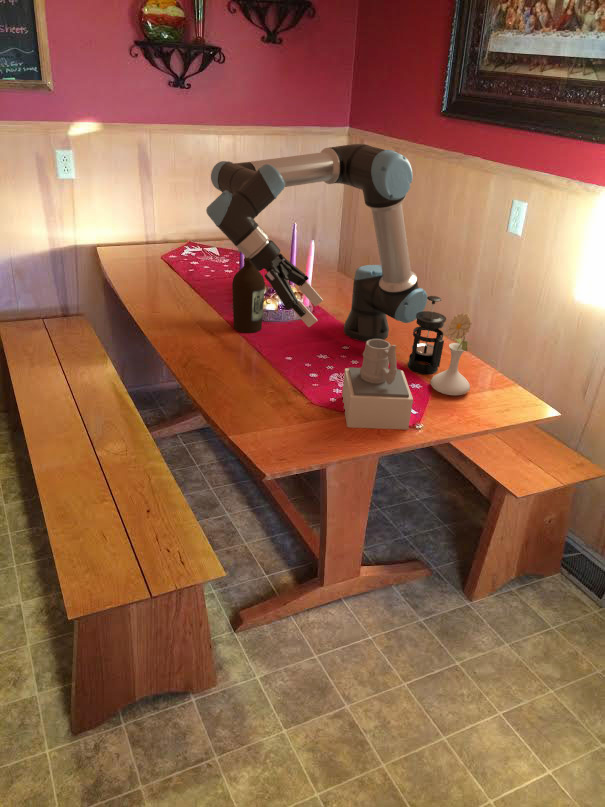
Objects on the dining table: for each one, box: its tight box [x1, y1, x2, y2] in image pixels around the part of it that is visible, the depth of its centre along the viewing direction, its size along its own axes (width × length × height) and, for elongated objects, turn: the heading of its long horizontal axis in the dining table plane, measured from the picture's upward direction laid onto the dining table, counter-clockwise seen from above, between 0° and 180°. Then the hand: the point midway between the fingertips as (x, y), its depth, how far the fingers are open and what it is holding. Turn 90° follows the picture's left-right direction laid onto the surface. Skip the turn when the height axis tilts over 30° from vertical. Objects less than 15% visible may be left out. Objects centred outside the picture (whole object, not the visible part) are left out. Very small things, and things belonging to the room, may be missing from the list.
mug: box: [360, 339, 398, 384], centre depth 172 cm, size 8×12×12 cm, turn 32°
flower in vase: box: [429, 312, 472, 396], centre depth 188 cm, size 13×11×25 cm
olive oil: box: [231, 255, 266, 334], centre depth 218 cm, size 11×11×25 cm
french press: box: [407, 295, 447, 376], centre depth 200 cm, size 12×9×23 cm
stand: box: [341, 366, 414, 430], centre depth 178 cm, size 16×16×10 cm
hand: (316, 313), depth 168 cm, fingers open, 13 cm apart
